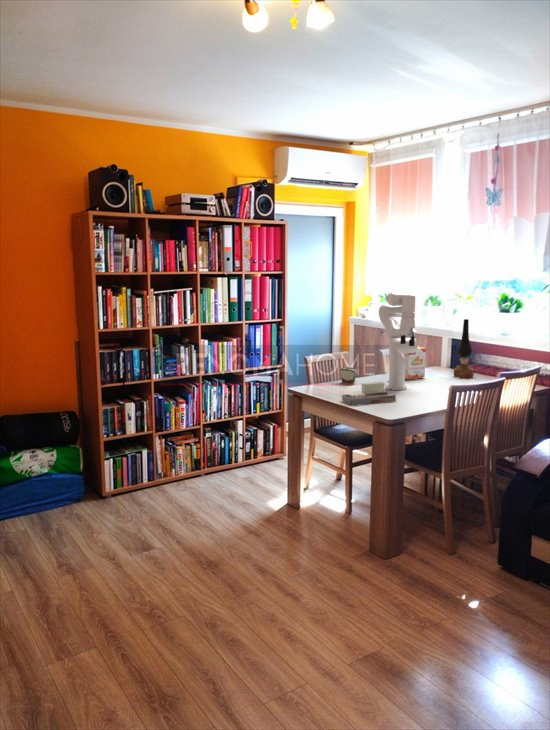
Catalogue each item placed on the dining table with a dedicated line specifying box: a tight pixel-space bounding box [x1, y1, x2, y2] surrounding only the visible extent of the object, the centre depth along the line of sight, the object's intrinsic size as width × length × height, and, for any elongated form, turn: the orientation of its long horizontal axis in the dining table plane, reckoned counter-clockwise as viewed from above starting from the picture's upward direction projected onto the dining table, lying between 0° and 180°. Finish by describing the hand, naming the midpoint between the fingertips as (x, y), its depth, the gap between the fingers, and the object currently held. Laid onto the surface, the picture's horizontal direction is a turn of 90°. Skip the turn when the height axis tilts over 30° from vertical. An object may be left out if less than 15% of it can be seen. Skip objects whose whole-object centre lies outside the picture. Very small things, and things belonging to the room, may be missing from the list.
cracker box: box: [403, 346, 427, 380], centre depth 398 cm, size 14×6×21 cm, turn 114°
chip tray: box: [341, 393, 373, 406], centre depth 333 cm, size 12×13×4 cm
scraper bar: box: [361, 381, 385, 393], centre depth 353 cm, size 4×13×7 cm, turn 108°
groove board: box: [363, 391, 397, 404], centre depth 338 cm, size 11×15×4 cm
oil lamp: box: [453, 318, 475, 379], centre depth 400 cm, size 14×15×40 cm
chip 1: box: [348, 393, 358, 399], centre depth 333 cm, size 4×4×4 cm
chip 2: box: [356, 392, 365, 399], centre depth 334 cm, size 4×4×4 cm
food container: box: [339, 366, 358, 386], centre depth 386 cm, size 12×6×10 cm, turn 43°
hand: (407, 344), depth 344 cm, fingers open, 9 cm apart
